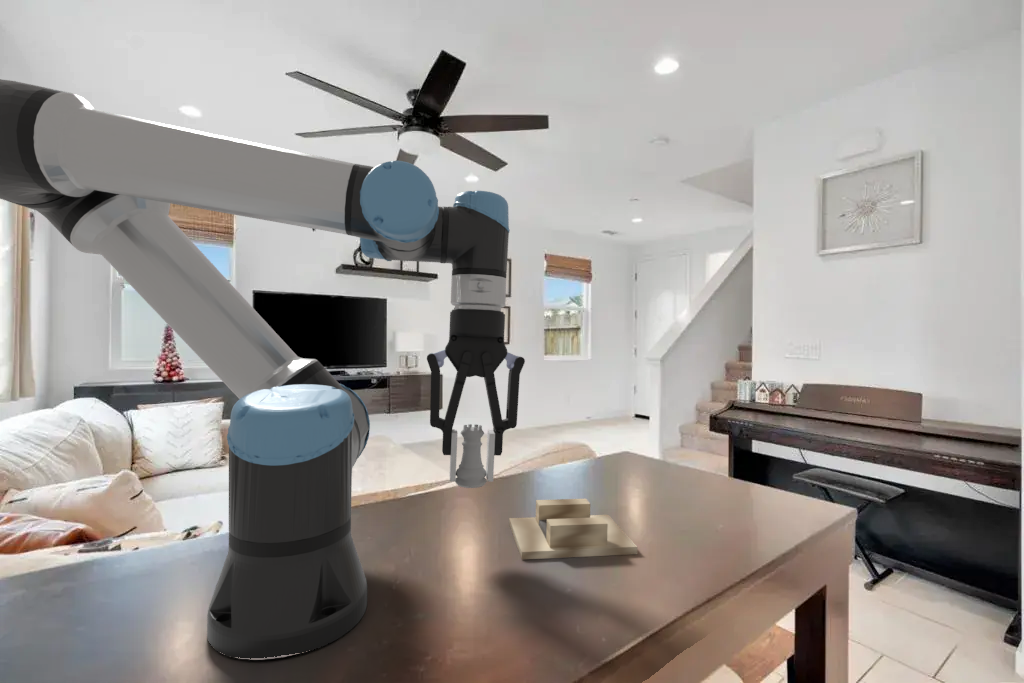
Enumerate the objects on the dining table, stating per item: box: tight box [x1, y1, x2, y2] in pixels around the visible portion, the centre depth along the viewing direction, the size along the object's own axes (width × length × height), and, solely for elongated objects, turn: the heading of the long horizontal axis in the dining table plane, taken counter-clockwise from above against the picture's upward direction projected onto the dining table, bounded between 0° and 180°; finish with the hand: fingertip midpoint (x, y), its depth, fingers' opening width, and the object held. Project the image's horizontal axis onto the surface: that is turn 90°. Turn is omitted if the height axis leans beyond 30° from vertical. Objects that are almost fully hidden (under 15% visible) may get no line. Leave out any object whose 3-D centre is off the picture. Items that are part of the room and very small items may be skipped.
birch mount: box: [508, 498, 638, 561], centre depth 73 cm, size 16×12×4 cm
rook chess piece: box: [454, 423, 488, 489], centre depth 68 cm, size 4×4×8 cm
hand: (471, 478), depth 68 cm, fingers closed on rook chess piece, 4 cm apart
